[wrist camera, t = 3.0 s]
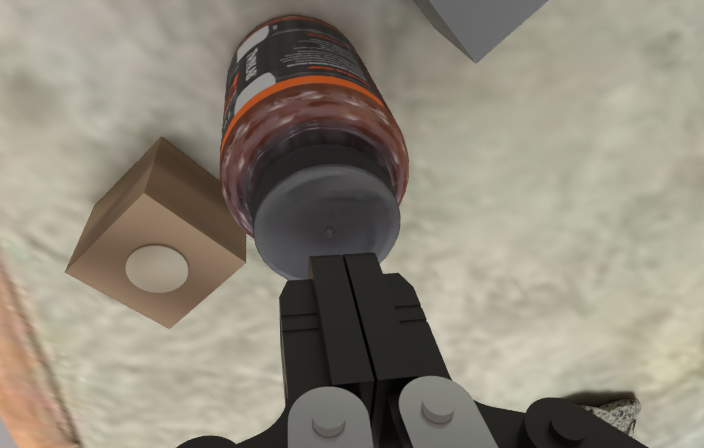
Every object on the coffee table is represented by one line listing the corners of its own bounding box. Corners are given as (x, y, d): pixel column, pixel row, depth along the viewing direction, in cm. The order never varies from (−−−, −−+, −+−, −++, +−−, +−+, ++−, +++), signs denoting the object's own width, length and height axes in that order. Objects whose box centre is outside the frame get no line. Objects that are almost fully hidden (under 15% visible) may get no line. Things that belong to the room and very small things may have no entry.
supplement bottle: (206, 31, 21) (175, 160, 12) (349, -4, 21) (427, 97, 12) (250, 158, 25) (252, 334, 15) (372, 128, 25) (447, 284, 16)
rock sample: (686, 467, 42) (657, 555, 36) (591, 449, 48) (554, 523, 42) (650, 357, 40) (614, 432, 35) (556, 352, 46) (512, 416, 40)
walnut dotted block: (161, 135, 23) (143, 195, 19) (246, 200, 26) (246, 265, 22) (94, 205, 25) (63, 275, 20) (181, 260, 27) (168, 332, 23)
